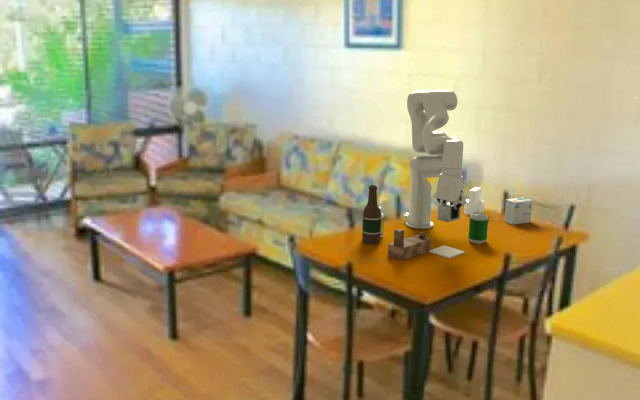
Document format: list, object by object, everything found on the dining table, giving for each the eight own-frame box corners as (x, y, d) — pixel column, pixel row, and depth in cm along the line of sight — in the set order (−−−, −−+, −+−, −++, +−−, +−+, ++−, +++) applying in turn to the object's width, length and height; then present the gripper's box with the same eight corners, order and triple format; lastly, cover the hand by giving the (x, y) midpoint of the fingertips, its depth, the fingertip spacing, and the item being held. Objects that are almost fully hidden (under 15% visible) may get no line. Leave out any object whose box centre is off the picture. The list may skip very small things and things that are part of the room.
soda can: (486, 245, 277) (489, 217, 274) (468, 243, 279) (470, 216, 276) (486, 239, 284) (488, 212, 281) (468, 238, 286) (470, 211, 283)
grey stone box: (447, 222, 260) (448, 205, 258) (437, 219, 263) (438, 202, 261) (460, 218, 265) (461, 201, 263) (449, 216, 268) (450, 199, 267)
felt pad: (428, 252, 268) (428, 250, 268) (444, 246, 274) (444, 245, 274) (449, 258, 261) (449, 256, 261) (464, 252, 267) (464, 251, 267)
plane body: (401, 260, 258) (402, 233, 255) (387, 255, 263) (388, 229, 260) (430, 250, 270) (432, 224, 267) (417, 246, 275) (418, 220, 272)
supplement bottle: (385, 237, 285) (387, 208, 282) (371, 239, 283) (372, 209, 280) (379, 233, 291) (380, 204, 288) (365, 234, 289) (366, 205, 286)
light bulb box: (521, 218, 316) (523, 196, 313) (531, 222, 310) (533, 200, 307) (503, 221, 311) (505, 198, 309) (512, 225, 306) (514, 202, 303)
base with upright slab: (479, 216, 318) (481, 192, 315) (461, 213, 323) (463, 189, 320) (485, 212, 326) (487, 188, 323) (467, 209, 330) (469, 185, 327)
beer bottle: (382, 240, 282) (384, 184, 276) (377, 245, 275) (379, 188, 269) (364, 238, 284) (366, 182, 278) (359, 243, 277) (361, 186, 271)
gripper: (428, 169, 263) (425, 214, 267) (464, 176, 251) (461, 223, 255) (440, 166, 268) (437, 210, 272) (476, 173, 256) (472, 219, 260)
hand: (449, 216), depth 264 cm, fingers closed on grey stone box, 5 cm apart
